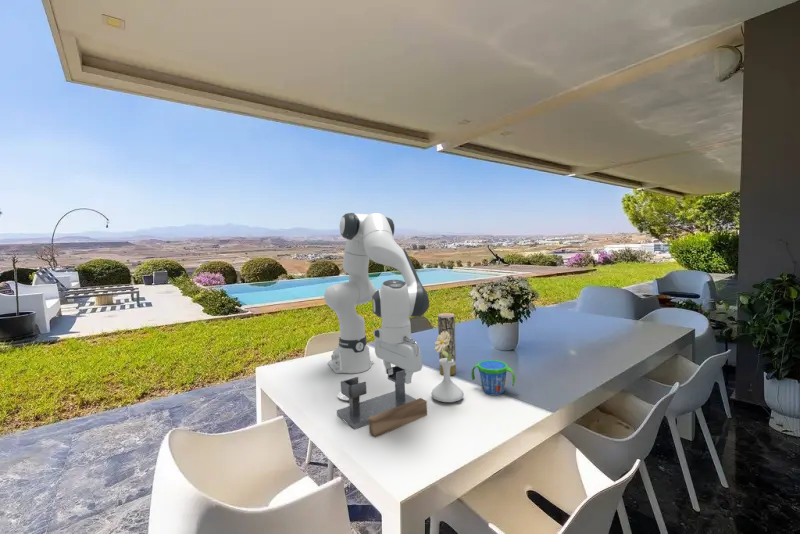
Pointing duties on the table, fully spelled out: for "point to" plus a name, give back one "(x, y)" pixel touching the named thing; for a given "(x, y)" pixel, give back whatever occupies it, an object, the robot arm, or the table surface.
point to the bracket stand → (362, 411)
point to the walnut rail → (397, 417)
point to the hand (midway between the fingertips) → (398, 378)
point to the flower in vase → (446, 374)
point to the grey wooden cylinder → (448, 324)
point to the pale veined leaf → (340, 395)
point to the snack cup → (493, 376)
